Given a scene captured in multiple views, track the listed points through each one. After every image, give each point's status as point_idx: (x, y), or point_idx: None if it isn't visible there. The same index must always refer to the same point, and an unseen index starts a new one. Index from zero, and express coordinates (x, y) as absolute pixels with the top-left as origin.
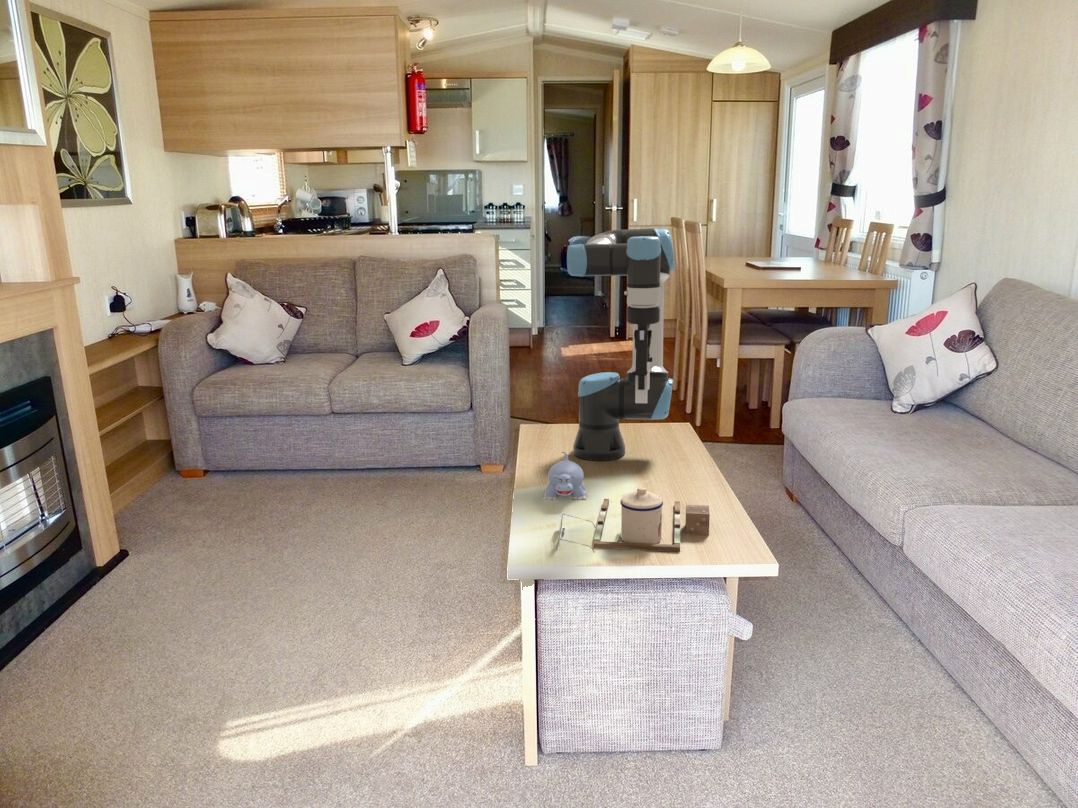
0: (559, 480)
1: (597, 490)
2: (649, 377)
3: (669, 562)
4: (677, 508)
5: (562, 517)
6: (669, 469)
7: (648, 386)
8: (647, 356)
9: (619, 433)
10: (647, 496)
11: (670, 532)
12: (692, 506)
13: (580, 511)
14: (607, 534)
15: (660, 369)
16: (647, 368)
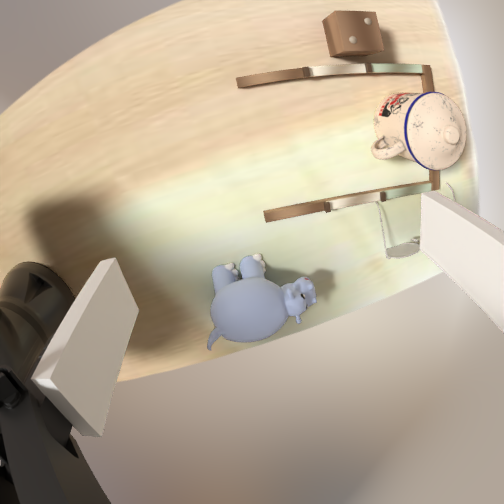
0: (306, 308)
1: (207, 249)
2: (85, 299)
3: (454, 81)
4: (276, 75)
5: (388, 255)
6: (49, 160)
7: (112, 270)
8: (51, 446)
9: (11, 290)
10: (455, 121)
11: (367, 79)
12: (351, 38)
13: (315, 244)
14: (395, 177)
15: None
16: (74, 357)
